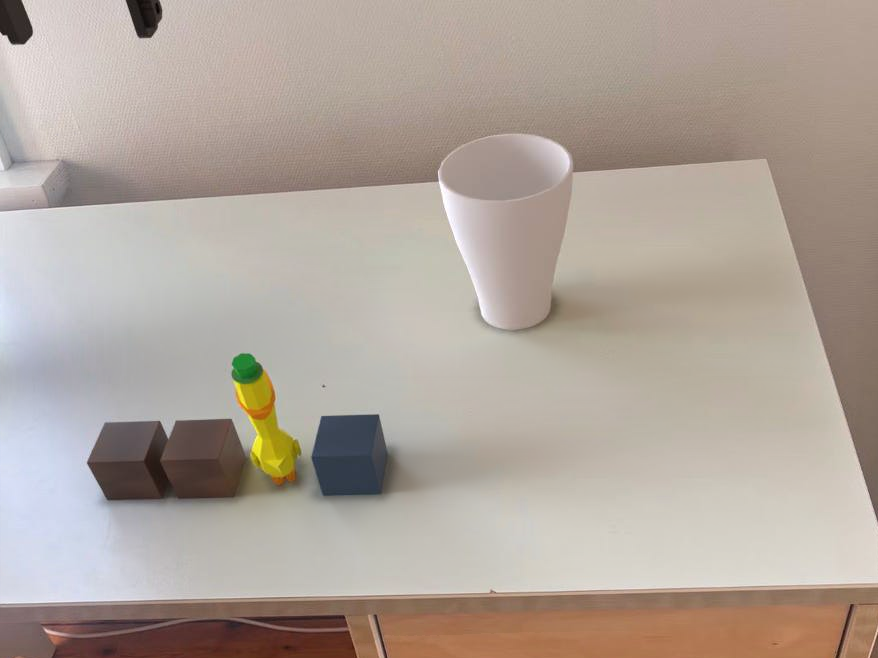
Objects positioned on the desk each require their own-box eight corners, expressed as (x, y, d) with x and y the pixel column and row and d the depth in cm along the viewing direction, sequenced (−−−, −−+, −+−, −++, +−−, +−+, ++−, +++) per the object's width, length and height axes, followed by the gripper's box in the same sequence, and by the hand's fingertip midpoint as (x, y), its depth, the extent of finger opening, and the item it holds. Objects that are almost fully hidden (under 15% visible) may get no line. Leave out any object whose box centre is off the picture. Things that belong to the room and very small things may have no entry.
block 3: (323, 499, 72) (310, 457, 69) (332, 458, 75) (320, 415, 72) (381, 498, 72) (371, 455, 69) (388, 456, 75) (379, 413, 71)
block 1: (109, 504, 74) (86, 462, 71) (125, 463, 77) (104, 422, 74) (164, 502, 74) (143, 461, 70) (179, 462, 76) (160, 420, 73)
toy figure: (255, 456, 76) (209, 330, 67) (299, 443, 77) (259, 317, 67) (269, 514, 72) (222, 389, 63) (316, 501, 72) (276, 374, 63)
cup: (469, 360, 81) (451, 213, 71) (446, 290, 88) (427, 147, 78) (590, 335, 82) (589, 186, 72) (558, 268, 89) (553, 123, 79)
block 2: (179, 502, 74) (159, 461, 70) (193, 461, 76) (175, 419, 73) (235, 501, 73) (218, 459, 70) (247, 460, 76) (231, 418, 73)
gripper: (120, -319, 52) (207, 8, 64) (-128, -297, 53) (4, 18, 66) (70, -290, 47) (175, 57, 59) (-200, -267, 48) (-43, 67, 61)
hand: (85, 37), depth 62 cm, fingers open, 8 cm apart
